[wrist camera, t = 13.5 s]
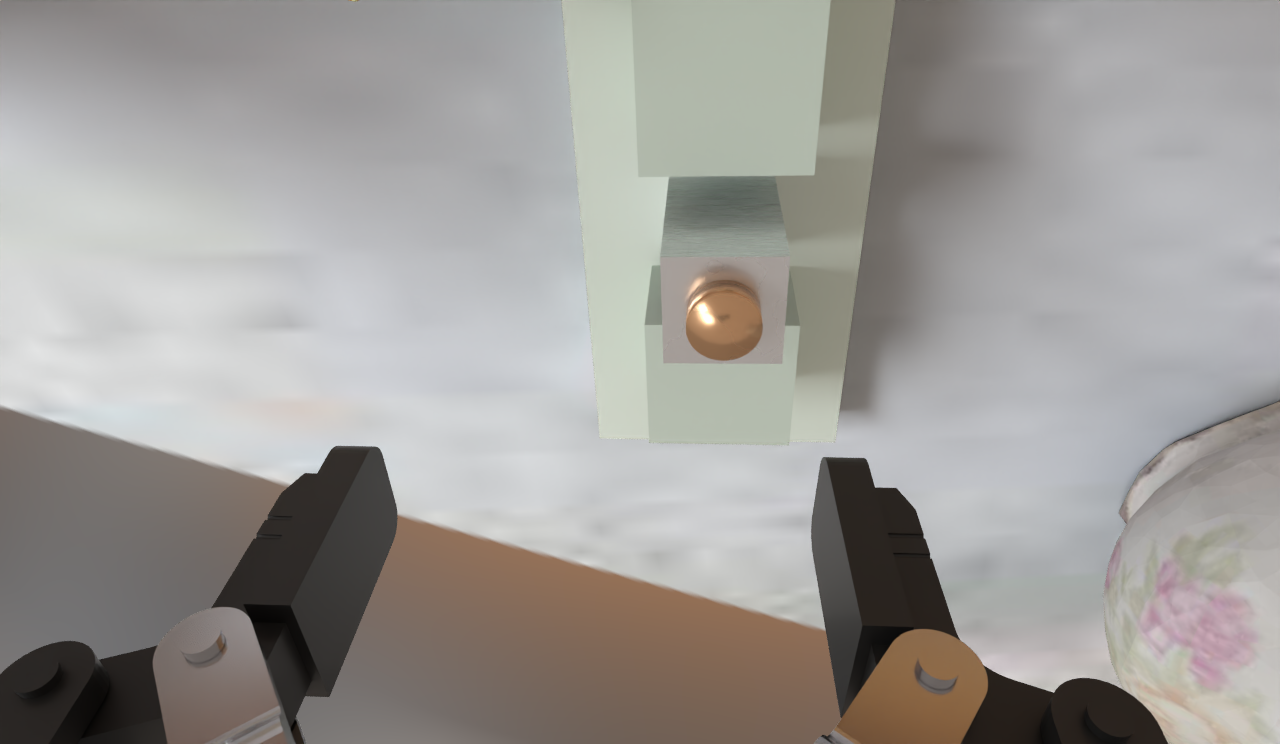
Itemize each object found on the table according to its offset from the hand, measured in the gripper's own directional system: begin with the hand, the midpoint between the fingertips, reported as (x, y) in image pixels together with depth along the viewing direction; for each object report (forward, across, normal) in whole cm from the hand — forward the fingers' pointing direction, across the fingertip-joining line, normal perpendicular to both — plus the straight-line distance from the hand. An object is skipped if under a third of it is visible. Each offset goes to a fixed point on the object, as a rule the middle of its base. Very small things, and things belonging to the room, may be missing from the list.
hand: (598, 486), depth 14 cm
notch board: (+23, -3, +5) cm, 24 cm away
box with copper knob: (+20, -3, +3) cm, 21 cm away
